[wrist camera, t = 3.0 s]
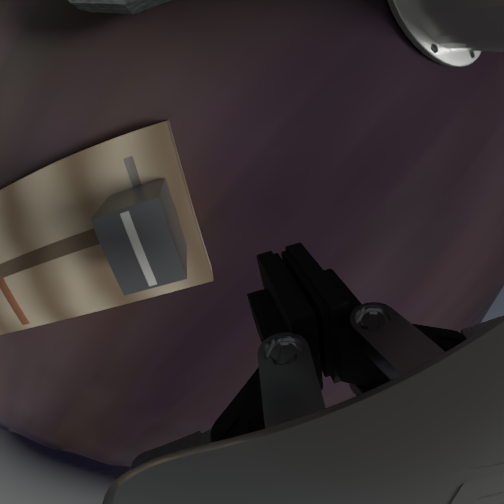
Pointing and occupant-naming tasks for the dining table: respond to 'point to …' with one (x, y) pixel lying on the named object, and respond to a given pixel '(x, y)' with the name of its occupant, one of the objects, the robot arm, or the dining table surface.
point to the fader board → (84, 230)
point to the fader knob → (142, 237)
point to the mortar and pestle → (117, 5)
